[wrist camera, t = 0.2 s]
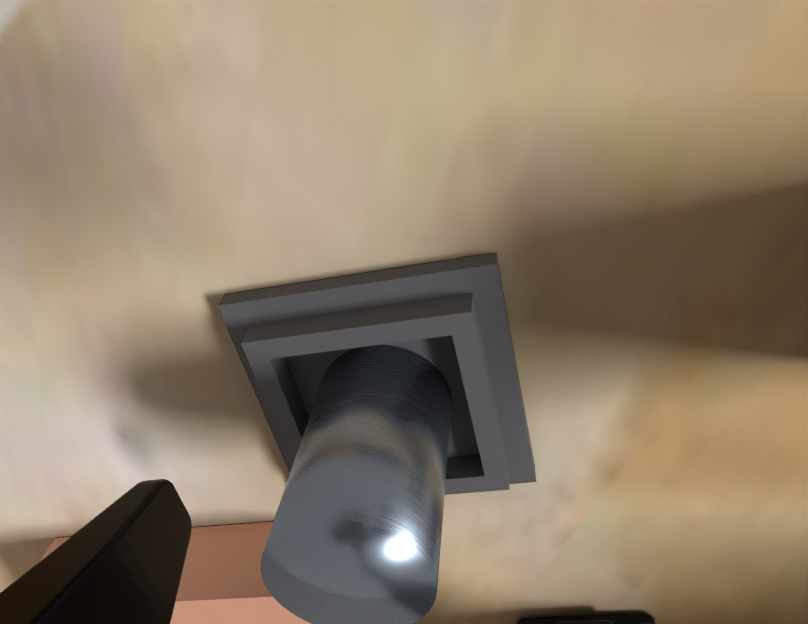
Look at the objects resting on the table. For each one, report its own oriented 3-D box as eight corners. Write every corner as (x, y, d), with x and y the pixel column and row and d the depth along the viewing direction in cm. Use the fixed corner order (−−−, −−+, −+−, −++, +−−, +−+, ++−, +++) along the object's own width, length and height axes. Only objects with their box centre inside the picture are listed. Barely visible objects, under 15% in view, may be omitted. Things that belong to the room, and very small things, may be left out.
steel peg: (462, 441, 27) (452, 631, 20) (341, 453, 28) (292, 637, 21) (436, 336, 24) (415, 513, 17) (304, 353, 25) (234, 526, 18)
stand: (534, 467, 28) (537, 504, 26) (306, 487, 30) (295, 522, 28) (496, 252, 23) (496, 282, 21) (225, 294, 25) (205, 324, 23)
